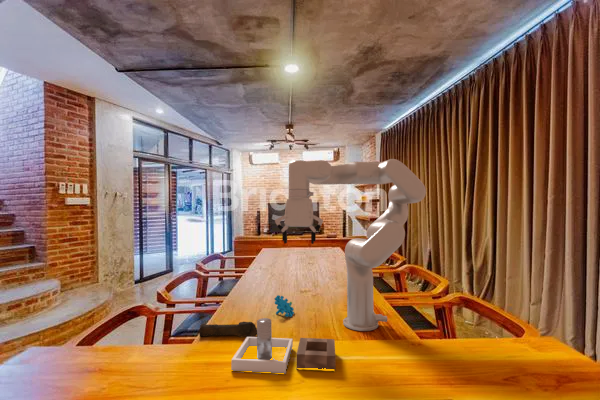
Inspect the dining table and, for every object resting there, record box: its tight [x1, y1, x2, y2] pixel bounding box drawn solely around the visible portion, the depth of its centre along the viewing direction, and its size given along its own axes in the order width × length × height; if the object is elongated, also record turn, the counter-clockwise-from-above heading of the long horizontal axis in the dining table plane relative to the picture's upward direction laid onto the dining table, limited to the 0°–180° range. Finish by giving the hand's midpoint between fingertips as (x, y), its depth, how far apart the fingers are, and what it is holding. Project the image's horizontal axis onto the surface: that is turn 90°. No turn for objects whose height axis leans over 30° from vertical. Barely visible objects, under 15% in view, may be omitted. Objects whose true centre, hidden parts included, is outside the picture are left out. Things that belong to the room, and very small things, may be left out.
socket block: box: [296, 337, 336, 370], centre depth 77 cm, size 10×10×4 cm
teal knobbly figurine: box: [274, 294, 295, 318], centre depth 114 cm, size 11×6×10 cm
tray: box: [230, 336, 294, 375], centre depth 78 cm, size 14×14×3 cm
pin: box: [256, 317, 273, 360], centre depth 78 cm, size 4×4×10 cm
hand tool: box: [198, 321, 257, 338], centre depth 93 cm, size 19×4×5 cm, turn 87°
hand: (298, 243), depth 99 cm, fingers open, 9 cm apart
